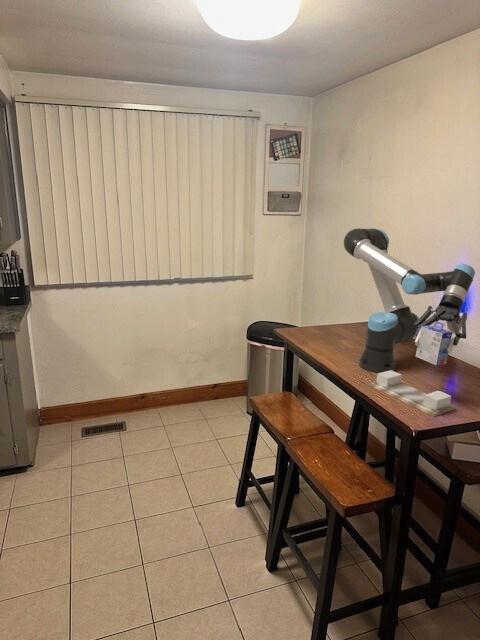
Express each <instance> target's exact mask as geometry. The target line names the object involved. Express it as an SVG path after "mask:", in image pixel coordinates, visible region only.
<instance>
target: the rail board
mask: <svg viewBox="0 0 480 640" xmlns="http://www.w3.org/2000/svg"><path fill="white" fill-rule="evenodd" d="M376 381H377V379H376V380H373V382H371V383H370V384H369V385H370V387H371V388H374V389H377V390H378V391H380V392H383V393H385V394H387V395H389V396H391V397H393V398H395V399H397V400H399V401H401V402H403V403H406V404H407V405H409V406H411V407H414V408H416V409H418V410H419V411H421V412H424V413H426V414H428V415H429V416H432V417H437V416H439V415H442V414H443V415H444V414H445V413H448V412H450V411H453V410H456V406H455V405H453V404H451V403H450V405H448V406H446V407H443V408H440V409H437V410H435V409H433V408H431V407H429V406H427V405H424V404H423V402H424V396H425V395H426V394H427V393H426V392H424V391H422V390H419V389H416V388H415V387H412V386H410V385H407V384H405V383H403V382H402V381H401V382H400V383H398V384H395V385H391V386H387V387H386V386H384V385H382V384H380V383H378V382H376Z"/></svg>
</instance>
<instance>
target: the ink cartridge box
mask: <svg viewBox="0 0 480 640" xmlns="http://www.w3.org/2000/svg"><path fill="white" fill-rule="evenodd" d="M439 325H441V326H439ZM444 326H445V323H443V322H440V321H436V322H434V323H433V325H432V324H431V325H428V326H421V331H420V336H419V341H418V346H416V352H415V357H416V358H418V359H421V360H423V361H425V362H427V363H430V364H432V365H435V366H441V365H443V366H444V365H447V362H448V357H449V353H448V351H447V349H448V346H449V344H450V342H451V339H452V337H453V332H452V331H450V330H448V329H447V330H446V329H444Z"/></svg>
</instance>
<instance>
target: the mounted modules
mask: <svg viewBox="0 0 480 640" xmlns="http://www.w3.org/2000/svg"><path fill="white" fill-rule="evenodd" d="M376 380H377V381H376ZM376 380H375V381H376V382H378V383H380V384H382V385H384V386H386V387H387V386H391V385H395V384H398V383H400V382H401V383H402V374H401V373H399V372H396V371H395V370H394V371H392V370H390V371H386V372H382V373H378V372H377V375H376ZM451 400H452V395H450V394H448V393H446V392H444V391H441V390H436V391H432V392H430V393H426V395H425V396H424V402H423V404H424V405H427V406H429V407H431V408H433V409H435V410H437V409H440V408H443V407H446V406H448V405H450V404H451Z"/></svg>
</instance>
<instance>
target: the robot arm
mask: <svg viewBox="0 0 480 640" xmlns="http://www.w3.org/2000/svg"><path fill="white" fill-rule="evenodd" d="M389 244H390V239H389V237H388V234H387V233H386V232H385V230H382V229H380V228H375V227H372V228H358V227H357V228H354V229H351V230H350V231H348V232H347V233H346V235H345V236H344V238H343V246H344V250H345V251H346V252H347V253H348V254H349V255H350V256H352V257H353V258H355V259H356V260H362V261H363V262H364V263H367V265H368V267H369V271H370V272H371V275H372V278H373V281H374V283H375V286H376V289H377V291H378V294H379V297H380V300H381V302H382V305H383V308H384V310H385V311H384V312H374V313H373V314H371V315H370V316H369V319H368V323H367V330H366V338H365V339H366V340H365V346H364V349H363V350H362V353H361V355H360V357H359V360H358V365H359V367H360V368H362V369H364V370H366V371H369V372H373V373H377V374H378V373H382V372H386V371H390V370H392V371H394V372H395V369H396V361H395V356H394V348H395V347H394V346H395V343H394V342H396V343H397V342H401V341H408V340H411V339H413V338H415V337H416V339H415V340H414V343H415V346H416V347H418V341H419V336H420V331H421V326H428V325H431V326H432V325H434V324H435V323H436V321H438V322H440V321H442V322H443V321H445V322H448V323H449V322H450V323H451V326H452V328H453V331H454V334H452V337H451V342H450V344H449V346H448V349H447V351H448V355H450V354H451V353H452V351H453V348H454V346H455V347H456V346H457V345H458V343H459V342H460V339H467V324H466V323H467V322H466V321H467V319H468V313H467V312H460V311H461V310H462V307H463V305H464V302H465V299H466V298H467V294H468V293H469V292H468V291H469V289H470V287H471V285H472V283H473V282H474V277H475V274H476V271H475V269H474V268H473V267H472V266H471V265H469V264H466V263H460V264H457V265H456V266H455V268H453V270H452V271H444V272H435V273H434V272H432V273H420V272H418V271H417V270H415V269H413V268H411V267H410V266H409V265H406V264H404V263H403V262H402V261H400V260H398V259H397V258H395V257H393V256H392V255H390V254H389V250H388V248H389ZM398 284H399V285H401V288H402V290H403V292H404V293H405V294H408V295H413V296H414V295H420V294H428V293H436V292H443V295H442V297H441V299H440V301H439V304H438V306H437V307H433V306H431V305H429V306H428V307H427V310H426V311H424V313H423V314H422V315H421V316H420V317H419V315H417V314H415V313H414V312H412V310H411V308H410V306H409V305H407V304H405V303H404V300H403V297H402V295H401V292H400V289H399V286H398ZM433 313H434V314H433ZM432 314H433V315H432ZM431 315H432V316H431ZM429 317H430V318H429ZM458 317H460V320H461V332H460V330H459V327H458V325H457V322H456V318H458Z"/></svg>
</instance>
